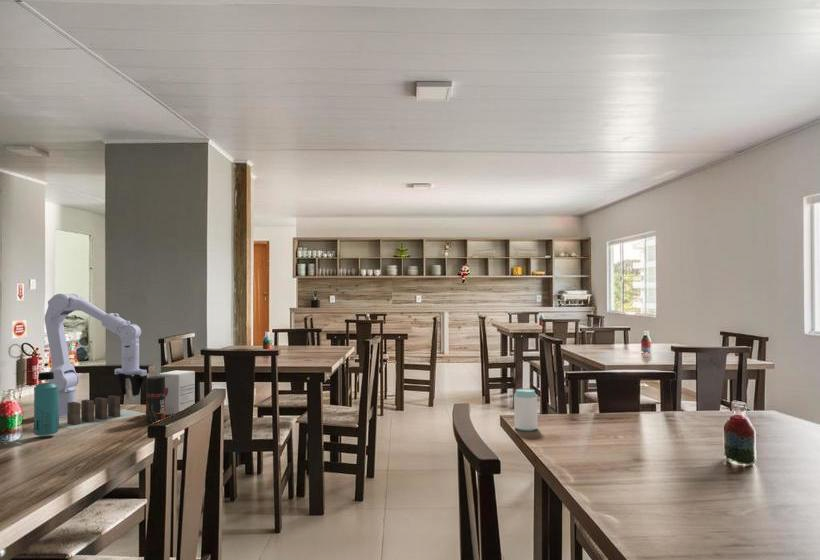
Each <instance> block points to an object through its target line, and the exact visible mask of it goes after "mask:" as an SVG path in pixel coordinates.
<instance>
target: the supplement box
mask: <svg viewBox="0 0 820 560" xmlns="http://www.w3.org/2000/svg"><path fill="white" fill-rule="evenodd" d="M195 374H196V371H195V370H176V369H175V370H171V371H167V372H161V373H159V374H158V376H165V416H166V415H167V416H173V415H172V414H175V413H177V412H179V411H182V410H184V409H185V408H187V407H189V406H191V405H193V404H195V403H196V402H195V399H196V397H195V396H196V394H195V393H196V392H195V391H196V390H195V387H196V385H195V383H196V381H195V380H196V379H195V378H196V375H195Z"/></svg>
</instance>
